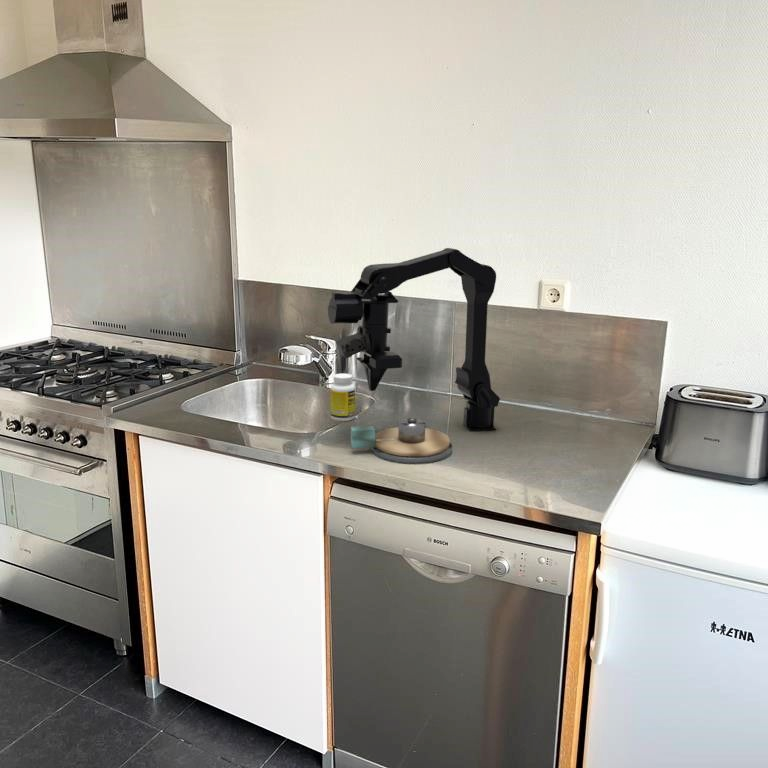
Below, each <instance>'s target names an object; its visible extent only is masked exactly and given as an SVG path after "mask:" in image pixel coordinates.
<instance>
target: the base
mask: <svg viewBox="0 0 768 768" xmlns="http://www.w3.org/2000/svg"><path fill="white" fill-rule="evenodd" d="M452 449H453V444H452V443H451V442H450V446H449V448H448V449H447V450H445V451H443V452H441V453H439V454H435V455H430V456H420V457H409V456H399V455H393V454H389V453H386V452H383V451H381V450H379V449H377V448H376V447H370V450H371V452H372V454H373V455H375V456H376V457H377V458H379V459H381V460H384V461H388V462H392V463H397V464H405V465H426V464H433V463H437V462H440V461H443V460H445V459H447V458H449V456H450V455H451V454H452V451H453V450H452Z"/></svg>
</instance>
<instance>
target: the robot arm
mask: <svg viewBox="0 0 768 768" xmlns="http://www.w3.org/2000/svg"><path fill="white" fill-rule="evenodd" d="M447 269H450V270H451V271H452V272H453V273H455V274H456V275H458V276H459V277H461V279H460V281H461V287H462V291H463V294H464V297H465V300H466V323H465V324H466V330H465V351H464V352H465V353H464V355H465V356H464V357H465V358H464V362H463V364H462V365H461V366H460V367H455V373H456V374H455V375H456V376H455V381H454V384H455V385H457V389H458V391H460V393H462V396H463V399H464V400H466V403H465V404H466V405H465V406H466V407H464V408H463V424H464V426H465V427H466V428H467V429H468V430H469V431H470V432H477V431H478V432H479V431H480V432H481V431H496V430H497V427H496V426H495V421H494V420H495V407H498V406H499V402H500V400H501V397H500V396H499V395H498V394H497V393H496V392H495V391H494V390H493V389H492V385H491V377H490V376H491V374H490V372H489V369H488V367H487V366H488V365H487V364H486V349H487V330H488V329H487V327H488V325H487V324H488V306H489V301H490V299H491V298H492V296H493V293H494V292H495V286H496V283H497V282H496V281H497V272H496V270H495V269H494V268H493V267H492V266H490V265H487V264H484V263H479V262H478V261H476V260H474V259H472V258H471V257H468V256H467V255H465V254H464V253H462V251H461V250H459V249H457V248H452V247H451V248H450V247H447V248H444V249H442V250H439V251H436V252H432V253H428V254H425V255H422V256H419V257H415V258H411V259H409V260H404V261H401V262H394V263H392V262H391V263H389V262H388V263H376V264H369V265H367V266H365V267H364V268H363V270H362V271H361V274H360V279H359V280H358V281H357V283H356V284H355V285H354V287H353V288H352V289H351V290H350V292H337V291H333V292H332V293H331V298H330V300H329V302H328V306H327V316H328V317H327V318H328V319H329V320H328V321H329V323H330V324H332V325H335V324H337V325H339V324H343V325H344V324H346V325H347V324H358V323H359V322H360V321H361V325H359V326H358V327H357V331H356V333H353V334H350V335H347V336H345V337H342V338H340V339H338V340H336V341H335V344H336V347H337V350H338V353H339V355H340V356H342V357H343V358H345V359H348V358H351V357H353V356H354V355H356V354H358V353H359V357H356V361H357V362H359V363H360V365H362V367H363V369H364V372H365V377H366V380H367V385H368V389H369V391H370V392H373V391H374V392H375V391H376V390H377V388H378V386H379V384H380V382H381V380H382V378H383V377H384V375H385V373H386V371H387V370H388V369H401V368H403V358H402V357H401V356H400V355H399V354H397V353H396V352H394V351H391V347H390V346H389V345H388V334H391V331H392V330H391V329H392V328H390V327H389V305H390V304H397V303H399V300H398V298H396V297H395V296H394V294H393V292H391V291H393V290H394V289H397V288H398V287H400V286H401V285H402V284H403V283H405V282H407V281H409V280H412V279H416V278H419V277H422V276H427V275H430V274H434V273H436V272H439V271H443V270H447Z"/></svg>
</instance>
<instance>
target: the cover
mask: <svg viewBox="0 0 768 768" xmlns="http://www.w3.org/2000/svg"><path fill="white" fill-rule="evenodd" d="M397 422H398V440H399V441H401V442H403V443H409V444H416V443H421V442H424V441H425V428H426V424H427V423H426V421H425V420H424V419H422V418H416V417H413V416H411V417H410V416H409V417H405V418H401V419H399V420H398V421H397Z"/></svg>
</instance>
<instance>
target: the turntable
mask: <svg viewBox="0 0 768 768" xmlns="http://www.w3.org/2000/svg"><path fill="white" fill-rule="evenodd" d="M450 443H451V439H450V437H449V436H448V435H447V434H446V433H444V432H442V431H439V430H437V429H432V428H428V427H427V428H426V427H425V441H424V442H421V443H416V444H409V443H403V442H401V441H399V440H398V427H390V428H387V429H383V430H381V431H378V432H377V433H376V429H375V426H373V425H370V426H369V425H367V426H351V427H350V446H351V449H358V448H359V449H361V448H363V449H364V448H371V447H376V448H377V449H379V450H381V451H383V452H386V453H389V454H393V455H399V456H409V457H420V456H430V455H435V454H439V453H441V452H443V451H445V450H447V449H448V448H449V446H450Z"/></svg>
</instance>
